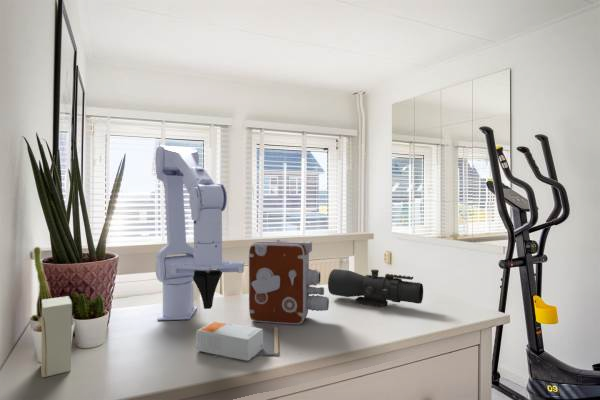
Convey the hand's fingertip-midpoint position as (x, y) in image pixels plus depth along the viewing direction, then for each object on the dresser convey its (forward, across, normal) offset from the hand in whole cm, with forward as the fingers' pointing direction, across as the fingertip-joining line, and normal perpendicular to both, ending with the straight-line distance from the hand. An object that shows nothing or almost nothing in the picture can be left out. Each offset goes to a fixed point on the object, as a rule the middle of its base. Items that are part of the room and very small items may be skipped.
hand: (208, 307), depth 74 cm
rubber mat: (+8, +8, +1) cm, 12 cm away
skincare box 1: (+8, -26, -8) cm, 28 cm away
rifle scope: (+8, +42, +25) cm, 50 cm away
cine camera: (+8, +18, +14) cm, 24 cm away
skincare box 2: (+6, -1, -1) cm, 6 cm away
